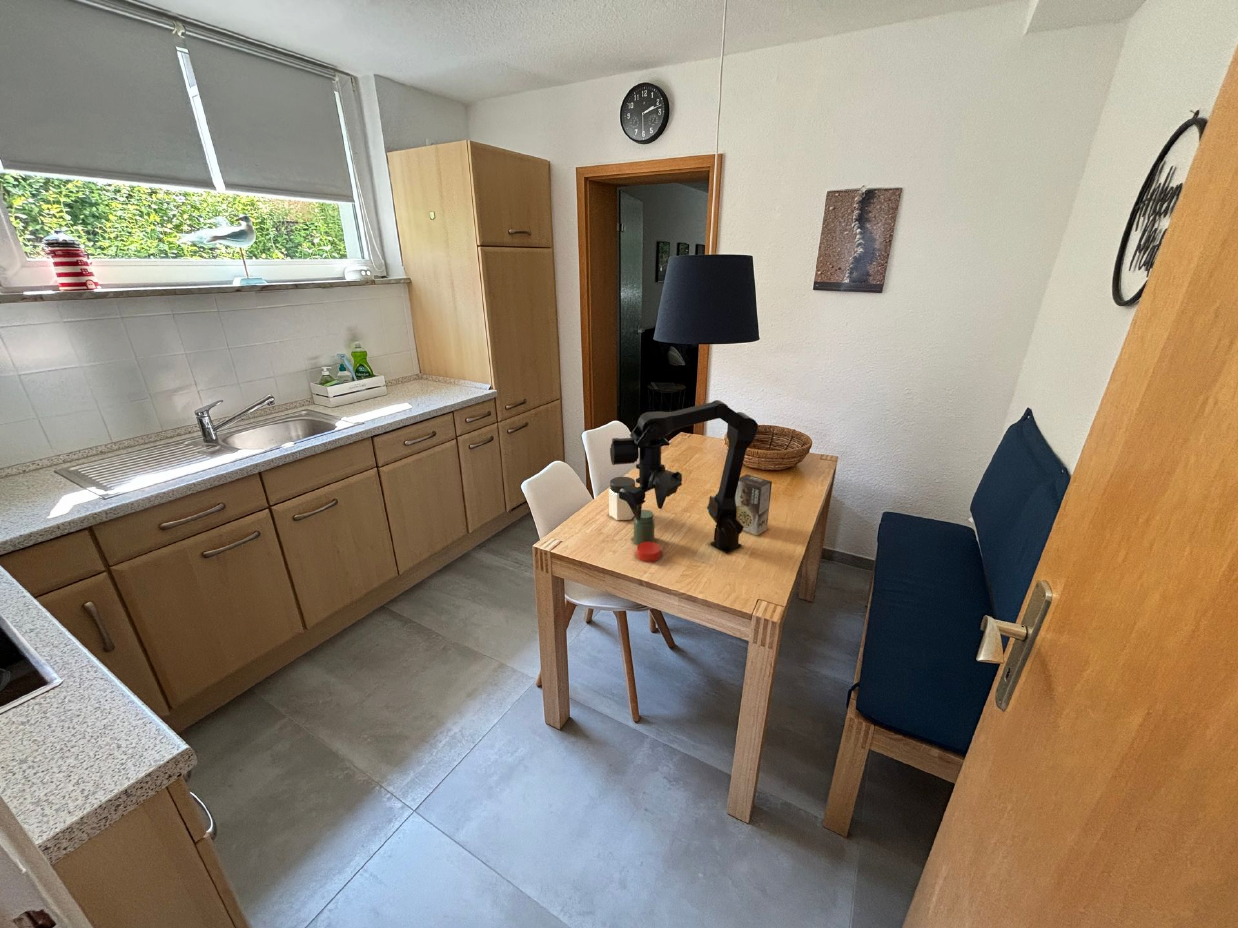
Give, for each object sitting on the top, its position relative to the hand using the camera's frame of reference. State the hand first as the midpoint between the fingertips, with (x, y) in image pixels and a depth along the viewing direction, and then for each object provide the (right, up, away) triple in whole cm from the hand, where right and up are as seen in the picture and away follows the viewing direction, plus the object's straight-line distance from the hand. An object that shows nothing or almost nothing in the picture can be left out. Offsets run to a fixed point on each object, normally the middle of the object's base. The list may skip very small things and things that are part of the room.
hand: (649, 514), depth 136 cm
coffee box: (+32, -6, +19) cm, 38 cm away
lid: (0, -10, +4) cm, 11 cm away
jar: (-7, -3, +28) cm, 29 cm away
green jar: (-1, -9, +12) cm, 15 cm away
